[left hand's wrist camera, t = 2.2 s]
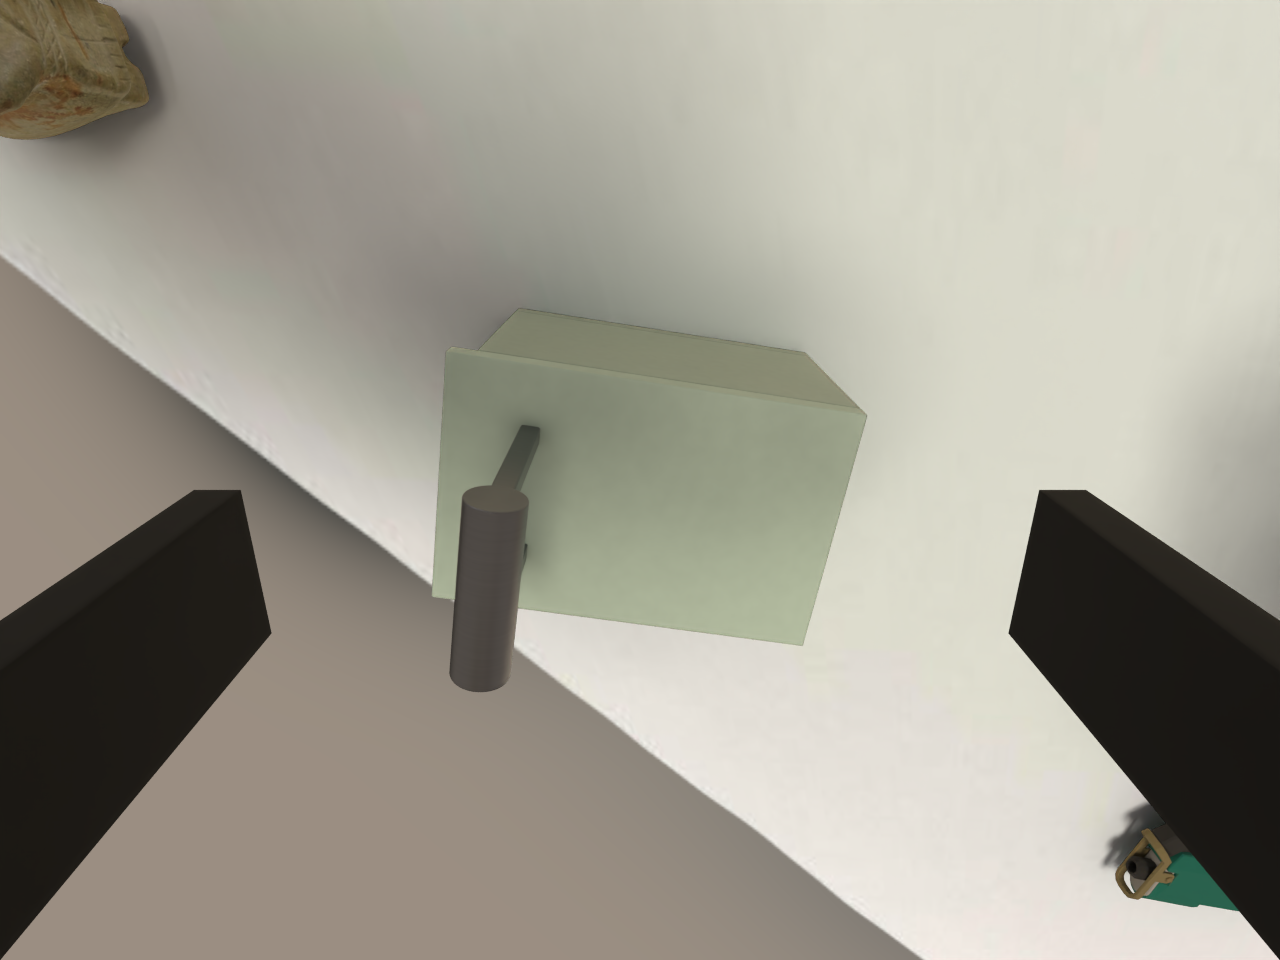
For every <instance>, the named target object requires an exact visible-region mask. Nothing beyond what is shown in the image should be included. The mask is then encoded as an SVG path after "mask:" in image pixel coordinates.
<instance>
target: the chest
mask: <svg viewBox="0 0 1280 960" xmlns="http://www.w3.org/2000/svg"><path fill="white" fill-rule="evenodd" d="M478 351H484V352H491V353H497V354H504V355H510V356H517V357H524V358H530V359H537V360H543V361H550V362H556V363H563V364H570V365H576V366H583V367H589V368H596V369H602V370H609V371H616V372H622V373H629V374H635V375H642V376H648V377H655V378H662V379H668V380H675V381H681V382H688V383H695V384H701V385H708V386H714V387H721V388H727V389H734V390H741V391H747V392H754V393H760V394H767V395H773V396H780V397H787V398H793V399H800V400H806V401H813V402H820V403H826V404H833V405H839V406H846V407H852V408H859V407H858V406H857V405H856V404H855V403H854V402H853V401H852V400H851V399H850V398H849V397H848V396H847V395H846V394H845V393H844V391H843V390H842V389H841V388H840V387H839V386H838V385H837V384H836V383H835V382H834V381H833V380H832V379H831V378H830V377H829V376H828V375H827V374H826V373H825V372H824V371H823V370H822V369H821V368H820V367H819V366H818V365H817V364H816V363H815V362H814V361H813V360H812V359H811V358H810V357H809V356H808V355H807V354H806V353H804V352H797V351H791V350H785V349H778V348H772V347H765V346H759V345H753V344H746V343H740V342H733V341H727V340H720V339H714V338H708V337H701V336H695V335H688V334H682V333H676V332H669V331H663V330H656V329H650V328H643V327H637V326H631V325H624V324H618V323H611V322H605V321H598V320H592V319H586V318H579V317H573V316H566V315H560V314H554V313H547V312H541V311H534V310H528V309H521V308H519V309H518V310H517V311H516V312H515V313H514V314H513V315H512V316H511V317H510V318H509V319H508V320H507V321H506V322H505V323H504V324H503V325H502V326H501V327H500V328H499V329H498V330H497V331H496V332H495V333H494V334H493V335H492V336H491V337H490V338H489V339H488V340H487V341H486V342H485V343H484V344H483V345H482V346H481V347H480V348H479V349H478ZM859 409H860V408H859Z"/></svg>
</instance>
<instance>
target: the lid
mask: <svg viewBox="0 0 1280 960" xmlns="http://www.w3.org/2000/svg"><path fill="white" fill-rule="evenodd" d="M866 418H867V415H866V414H865V413H864V412H863V411H862V409H859V408H852V407H846V406H839V405H833V404H826V403H820V402H813V401H806V400H800V399H793V398H787V397H780V396H773V395H767V394H760V393H754V392H747V391H741V390H734V389H727V388H721V387H714V386H708V385H701V384H695V383H688V382H681V381H675V380H668V379H662V378H655V377H648V376H642V375H635V374H629V373H622V372H616V371H609V370H602V369H596V368H589V367H583V366H576V365H570V364H563V363H556V362H550V361H543V360H537V359H530V358H524V357H517V356H510V355H504V354H497V353H491V352H484V351H477V350H471V349H464V348H458V347H451V348H450V349H448V350H447V351H446V357H445V375H444V392H443V410H442V427H441V445H440V462H439V479H438V497H437V514H436V532H435V549H434V566H433V584H432V597H437V598H445V599H452V600H455V602H454V617H453V631H452V645H451V659H450V677H451V679H452V681H453V682H454V683H455V684H456V685H457V686H459V687H460V688H462V689H465V690H468V691H473V692H487V691H492V690H495V689H498V688H500V687H502V686H503V685H504V684H505V683H506V682H507V681H508V680H509V678H510V675H511V666H512V657H513V648H514V639H515V629H516V620H517V611H518V608H520V609H528V610H535V611H543V612H551V613H558V614H566V615H573V616H581V617H588V618H596V619H603V620H611V621H618V622H626V623H634V624H641V625H649V626H656V627H664V628H671V629H679V630H686V631H694V632H701V633H709V634H717V635H724V636H732V637H739V638H747V639H754V640H762V641H769V642H777V643H784V644H792V645H800V646H802V645H803V643H804V639H805V636H806V632H807V629H808V625H809V621H810V618H811V614H812V611H813V607H814V604H815V600H816V596H817V593H818V589H819V586H820V582H821V579H822V575H823V572H824V568H825V564H826V561H827V557H828V554H829V550H830V547H831V543H832V539H833V536H834V532H835V529H836V525H837V522H838V518H839V514H840V511H841V507H842V504H843V500H844V497H845V493H846V490H847V486H848V482H849V479H850V475H851V472H852V468H853V465H854V461H855V457H856V454H857V450H858V447H859V443H860V440H861V436H862V433H863V429H864V425H865V422H866Z"/></svg>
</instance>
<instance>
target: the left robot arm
mask: <svg viewBox="0 0 1280 960" xmlns="http://www.w3.org/2000/svg"><path fill="white" fill-rule="evenodd" d="M270 634H271V629H270V624H269V620H268V615H267V610H266V606H265V601H264V597H263V592H262V587H261V582H260V578H259V573H258V568H257V564H256V559H255V555H254V550H253V545H252V541H251V536H250V531H249V527H248V522H247V517H246V513H245V508H244V503H243V499H242V494H241V490H193V491H192V492H190V493H189V494H188V495H186V496H185V497H183V498H182V499H180V500H179V501H177V502H176V503H174V504H173V505H171V506H170V507H168V508H167V509H165V510H164V511H162V512H161V513H159V514H158V515H156V516H155V517H153V518H152V519H150V520H149V521H147V522H146V523H145V524H143V525H141V526H140V527H139V528H137V529H136V530H134V531H133V532H131V533H130V534H128V535H127V536H125V537H124V538H122V539H121V540H119V541H118V542H116V543H115V544H113V545H112V546H110V547H109V548H107V549H106V550H104V551H103V552H102V553H100V554H99V555H97V556H96V557H94V558H93V559H91V560H90V561H88V562H87V563H85V564H84V565H82V566H81V567H79V568H78V569H76V570H75V571H73V572H72V573H70V574H69V575H67V576H66V577H64V578H63V579H61V580H60V581H58V582H57V583H55V584H54V585H53V586H51V587H49V588H48V589H47V590H45V591H44V592H42V593H41V594H39V595H38V596H36V597H35V598H33V599H32V600H30V601H29V602H27V603H26V604H24V605H23V606H21V607H20V608H18V609H17V610H15V611H14V612H12V613H11V614H9V615H8V616H7V617H5V618H4V619H2V620H1V621H0V960H1V958H2V957H3V956H4V955H5V954H6V952H7V951H8V950H9V949H10V948H11V946H12V945H13V944H14V943H15V942H16V940H17V939H18V938H19V937H20V935H21V934H22V933H23V932H24V931H25V929H26V928H27V927H28V926H29V925H30V923H31V922H32V921H33V920H34V919H35V917H36V916H37V915H38V914H39V913H40V911H41V910H42V909H43V908H44V907H45V905H46V904H47V903H48V902H49V901H50V899H51V898H52V897H53V896H54V895H55V893H56V892H57V891H58V890H59V889H60V887H61V886H62V885H63V884H64V883H65V881H66V880H67V879H68V878H69V877H70V875H71V874H72V873H73V872H74V871H75V869H76V868H77V867H78V866H79V864H80V863H81V862H82V861H83V860H84V858H85V857H86V856H87V855H88V854H89V852H90V851H91V850H92V849H93V848H94V846H95V845H96V844H97V843H98V842H99V840H100V839H101V838H102V837H103V836H104V834H105V833H106V832H107V831H108V830H109V828H110V827H111V826H112V825H113V824H114V822H115V821H116V820H117V819H118V818H119V816H120V815H121V814H122V813H123V812H124V810H125V809H126V808H127V807H128V805H129V804H130V803H131V802H132V801H133V799H134V798H135V797H136V796H137V795H138V793H139V792H140V791H141V790H142V789H143V787H144V786H145V785H146V784H147V782H148V781H149V780H150V779H151V778H152V777H153V775H154V774H155V773H156V772H157V771H158V769H159V768H160V767H161V766H162V765H163V763H164V762H165V761H166V760H167V759H168V757H169V756H170V755H171V754H172V752H173V751H174V750H175V749H176V748H177V746H178V745H179V744H180V743H181V742H182V740H183V739H184V738H185V737H186V736H187V734H188V733H189V732H190V731H191V730H192V728H193V727H194V726H195V725H196V724H197V722H198V721H199V720H200V719H201V718H202V716H203V715H204V714H205V713H206V711H207V710H208V709H209V708H210V707H211V706H212V704H213V703H214V702H215V701H216V700H217V698H218V697H219V696H220V695H221V693H222V692H223V691H224V690H225V689H226V687H227V686H228V685H229V684H230V683H231V681H232V680H233V679H234V678H235V677H236V675H237V674H238V673H239V672H240V670H241V669H242V668H243V667H244V666H245V665H246V663H247V662H248V661H249V660H250V658H251V657H252V656H253V655H254V654H255V652H256V651H257V650H258V649H259V648H260V647H261V645H262V644H263V643H264V642H265V640H266V639H267V638H268V637H269V636H270ZM1009 634H1010V636H1011V637H1012V638H1013V639H1014V640H1015V642H1016V643H1017V644H1018V645H1019V647H1020V648H1021V649H1022V650H1023V651H1024V653H1025V654H1026V655H1027V656H1028V657H1029V659H1030V660H1031V661H1032V662H1033V663H1034V665H1035V666H1036V667H1037V668H1038V669H1039V671H1040V672H1041V673H1042V674H1043V675H1044V677H1045V678H1046V679H1047V680H1048V681H1049V683H1050V684H1051V685H1052V686H1053V687H1054V689H1055V690H1056V691H1057V692H1058V693H1059V695H1060V696H1061V697H1062V698H1063V700H1064V701H1065V702H1066V703H1067V704H1068V706H1069V707H1070V708H1071V709H1072V710H1073V712H1074V713H1075V714H1076V715H1077V716H1078V718H1079V719H1080V720H1081V721H1082V722H1083V724H1084V725H1085V726H1086V727H1087V728H1088V730H1089V731H1090V732H1091V733H1092V734H1093V736H1094V737H1095V738H1096V739H1097V740H1098V742H1099V743H1100V744H1101V745H1102V746H1103V748H1104V749H1105V750H1106V751H1107V753H1108V754H1109V755H1110V756H1111V757H1112V759H1113V760H1114V761H1115V762H1116V763H1117V765H1118V766H1119V767H1120V768H1121V769H1122V771H1123V772H1124V773H1125V774H1126V775H1127V777H1128V778H1129V779H1130V780H1131V781H1132V783H1133V784H1134V785H1135V786H1136V787H1137V789H1138V790H1139V791H1140V792H1141V793H1142V795H1143V796H1144V797H1145V798H1146V799H1147V801H1148V802H1149V803H1150V804H1151V805H1152V807H1153V808H1154V809H1155V810H1156V812H1157V813H1158V814H1159V815H1160V816H1161V818H1162V819H1163V820H1164V821H1165V822H1166V824H1167V825H1168V826H1169V827H1170V828H1171V830H1172V831H1173V832H1174V833H1175V834H1176V836H1177V837H1178V838H1179V839H1180V840H1181V842H1182V843H1183V844H1184V845H1185V846H1186V848H1187V849H1188V850H1189V851H1190V852H1191V854H1192V855H1193V856H1194V857H1195V858H1196V860H1197V861H1198V862H1199V863H1200V865H1201V866H1202V867H1203V868H1204V869H1205V871H1206V872H1207V873H1208V874H1209V875H1210V877H1211V878H1212V879H1213V880H1214V881H1215V883H1216V884H1217V885H1218V886H1219V887H1220V889H1221V890H1222V891H1223V892H1224V893H1225V895H1226V896H1227V897H1228V898H1229V899H1230V901H1231V902H1232V903H1233V904H1234V905H1235V907H1236V908H1237V909H1238V910H1239V911H1240V913H1241V914H1242V915H1243V916H1244V917H1245V919H1246V920H1247V921H1248V922H1249V924H1250V925H1251V926H1252V927H1253V928H1254V930H1255V931H1256V932H1257V933H1258V934H1259V936H1260V937H1261V938H1262V939H1263V940H1264V942H1265V943H1266V944H1267V945H1268V946H1269V948H1270V949H1271V950H1272V951H1273V952H1274V954H1275V955H1276V956H1277V957H1278V958H1279V960H1280V621H1279V620H1278V619H1276V618H1275V617H1274V616H1272V615H1271V614H1269V613H1268V612H1266V611H1265V610H1263V609H1262V608H1260V607H1259V606H1257V605H1256V604H1254V603H1253V602H1251V601H1250V600H1248V599H1247V598H1245V597H1244V596H1242V595H1241V594H1239V593H1238V592H1236V591H1235V590H1233V589H1232V588H1230V587H1229V586H1228V585H1226V584H1225V583H1223V582H1222V581H1220V580H1219V579H1217V578H1216V577H1214V576H1213V575H1211V574H1210V573H1208V572H1207V571H1205V570H1204V569H1202V568H1201V567H1199V566H1198V565H1196V564H1195V563H1193V562H1192V561H1190V560H1189V559H1187V558H1186V557H1185V556H1183V555H1182V554H1180V553H1179V552H1177V551H1176V550H1174V549H1173V548H1171V547H1170V546H1168V545H1167V544H1165V543H1164V542H1162V541H1161V540H1159V539H1158V538H1156V537H1155V536H1153V535H1152V534H1150V533H1149V532H1147V531H1146V530H1144V529H1143V528H1141V527H1140V526H1139V525H1137V524H1136V523H1134V522H1133V521H1131V520H1130V519H1128V518H1127V517H1125V516H1124V515H1122V514H1121V513H1119V512H1118V511H1116V510H1115V509H1113V508H1112V507H1110V506H1109V505H1107V504H1106V503H1104V502H1103V501H1101V500H1100V499H1098V498H1097V497H1095V496H1094V495H1093V494H1091V493H1090V492H1088V491H1087V490H1039V494H1038V499H1037V503H1036V508H1035V513H1034V517H1033V522H1032V527H1031V531H1030V536H1029V540H1028V545H1027V550H1026V554H1025V559H1024V564H1023V568H1022V573H1021V578H1020V582H1019V587H1018V592H1017V596H1016V601H1015V606H1014V610H1013V615H1012V620H1011V624H1010V629H1009Z"/></svg>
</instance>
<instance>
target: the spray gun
mask: <svg viewBox="0 0 1280 960" xmlns="http://www.w3.org/2000/svg"><path fill="white" fill-rule="evenodd" d="M1141 832H1142V835H1143V836H1144V837H1143V838H1142V839H1141V841H1140V842H1139V843H1138V844H1137V846H1136V847H1135V848H1134V849H1133V850H1132V852H1131V853H1130V854H1129V855H1128V856H1127V858H1126V859H1125V860H1124V861H1123V863H1122V864H1121V865H1120V866H1119V867H1118V869H1117V871H1116V873H1115V876H1116V881H1117V883H1118V885H1119V887H1120V888H1121V890H1122V891H1123V893H1124V894H1125V895H1126V896H1127V897H1128V898H1132V899H1137V900H1138V899H1140V898H1146V899H1152V900H1157V901H1162V902H1168V903H1173V904H1178V905H1183V906H1189V907H1197V906H1198V905H1206V906H1211V907H1217V908H1223V909H1229V910H1235V911H1239V910H1238V909H1237V908H1236V907H1235V905H1234V904H1233V903H1232V902H1231V901H1230V899H1229V898H1228V897H1227V896H1226V895H1225V893H1224V892H1223V891H1222V890H1221V889H1220V887H1219V886H1218V885H1217V884H1216V883H1215V881H1214V880H1213V879H1212V878H1211V877H1210V875H1209V874H1208V873H1207V872H1206V871H1205V869H1204V868H1203V867H1202V866H1201V865H1200V863H1199V862H1198V861H1197V860H1196V858H1195V857H1194V856H1193V855H1192V854H1191V852H1190V851H1189V850H1188V849H1187V848H1186V846H1185V845H1184V844H1183V843H1182V842H1181V840H1180V839H1179V838H1178V837H1177V836H1176V834H1175V833H1174V832H1173V831H1172V830H1171V828H1170V827H1169V826H1168V825H1167V824H1165V825H1162V826H1160V827H1157V828H1154V829H1152V832H1151V830H1149V829H1148V828H1147V829H1145V830H1143V831H1141ZM1147 845H1149V847H1150V848H1151V849H1149V848H1145V847H1146V846H1147ZM1126 871H1128V872H1129V874H1130V882H1131V886H1132V888H1133V890H1134V892H1135V893H1132V892H1131V890H1130V889H1129V888H1128V886H1127V885H1126V883H1125V881H1124V874H1125V872H1126Z"/></svg>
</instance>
